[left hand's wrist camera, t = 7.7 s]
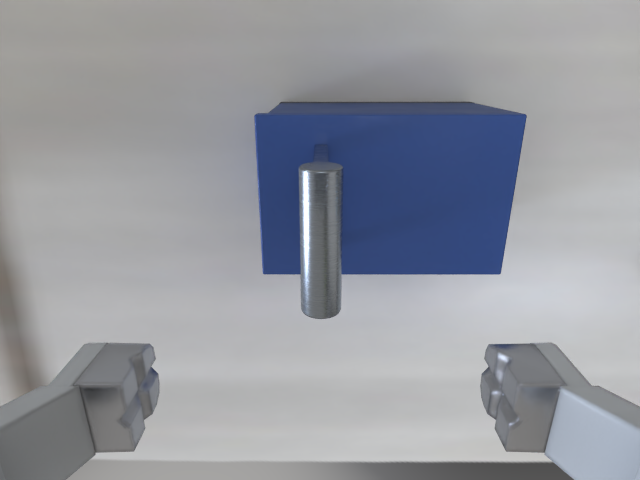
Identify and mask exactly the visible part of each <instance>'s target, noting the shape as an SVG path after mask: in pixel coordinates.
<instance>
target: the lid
mask: <svg viewBox="0 0 640 480" xmlns="http://www.w3.org/2000/svg"><path fill="white" fill-rule="evenodd" d="M254 117H255V136H256V154H257V173H258V192H259V210H260V229H261V248H262V266H263V274H301V309H302V311H303V313H304V314H305V315H307V316H309V317H311V318H316V319H326V318H331V317H334V316H336V315H337V314H338V313H339V312H340V310H341V275H342V274H501V268H502V262H503V256H504V250H505V244H506V238H507V232H508V226H509V220H510V214H511V207H512V201H513V195H514V189H515V183H516V177H517V171H518V165H519V159H520V153H521V147H522V141H523V134H524V128H525V122H526V115H525V114H521V113H258V114H256V115H255V116H254Z"/></svg>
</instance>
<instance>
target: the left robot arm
mask: <svg viewBox="0 0 640 480" xmlns="http://www.w3.org/2000/svg"><path fill="white" fill-rule="evenodd" d="M155 359H156V358H155V353H154V348H153V346H152V345H151V344H139V343H88V344H84V345H83V346H82V348H81V349H80V350H79V351H78V352H77V353H76V354H75V356H74V357H73V358H72V359H71V360H70V361H69V363H68V364H67V365H66V366H65V367H64V368H63V369H62V371H61V372H60V373H59V374H58V375H57V376H56V377H55V379H54V380H53V381H52V382H51V383H50V384H49V385H48V386H40V387H38V388H36V389H34V390H32V391H30V392H28V393H26V394H24V395H22V396H20V397H19V398H17V399H15V400H13V401H11V402H9V403H7V404H5V405H3V406H1V407H0V480H66V479H67V478H68V477H70V476H71V475H72V474H73V473H74V472H75V471H77V470H78V469H79V468H80V467H81V466H83V465H84V464H85V463H86V462H87V461H88V460H90V459H91V458H92V457H93V456H94V455H95V453H97V452H132V451H134V450H135V448H136V446H137V444H138V442H139V440H140V438H141V436H142V434H143V432H144V430H145V424H144V420H145V419H146V418H147V417H149V416H150V415H152V414H153V412H154V409H155V407H156V405H157V401H158V396H159V376H158V373H157V372H156V371H155V370H154V369H153V368H152V367H151V366H152V364H153V363H154V361H155ZM484 359H485V361H486V363H487V364H488V366H489V367H488V368H487V369H486V370H485V371H484V372H483V373H482V377H481V385H480V387H481V398H482V401H483V405H484V407H485V409H486V412H487V414H488V415H490V416H491V417H493V418H494V419H495V420H496V424H495V430H496V432H497V434H498V436H499V438H500V440H501V442H502V444H503V446H504V448H505V450H506V451H507V452H542V453H545V455H546V456H547V457H548V458H549V459H551V460H552V461H553V462H554V463H555V464H556V465H558V466H559V467H560V468H561V469H562V470H564V471H565V472H566V473H567V474H568V475H569V476H571V477H572V478H573V479H574V480H640V407H639V406H637V405H635V404H633V403H631V402H629V401H627V400H625V399H623V398H621V397H619V396H617V395H616V394H614V393H612V392H610V391H608V390H606V389H604V388H602V387H600V386H592V385H591V384H590V383H589V382H588V381H587V380H586V379H585V377H584V376H583V375H582V374H581V373H580V372H579V371H578V369H577V368H576V367H575V366H574V365H573V364H572V363H571V361H570V360H569V359H568V358H567V357H566V356H565V354H564V353H563V352H562V351H561V350H560V349H559V348H558V346H557V345H555V344H553V343H530V344H489V345H488V347H487V349H486V352H485V358H484Z"/></svg>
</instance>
